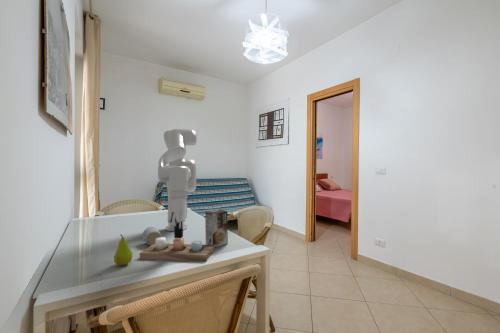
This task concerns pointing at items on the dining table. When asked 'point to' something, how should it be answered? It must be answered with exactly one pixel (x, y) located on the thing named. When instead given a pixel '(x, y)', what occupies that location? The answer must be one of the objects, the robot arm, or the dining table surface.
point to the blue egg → (196, 246)
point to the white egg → (160, 243)
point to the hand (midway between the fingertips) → (178, 237)
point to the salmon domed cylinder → (178, 243)
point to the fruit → (122, 253)
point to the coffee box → (216, 228)
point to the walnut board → (177, 253)
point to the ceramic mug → (151, 235)
